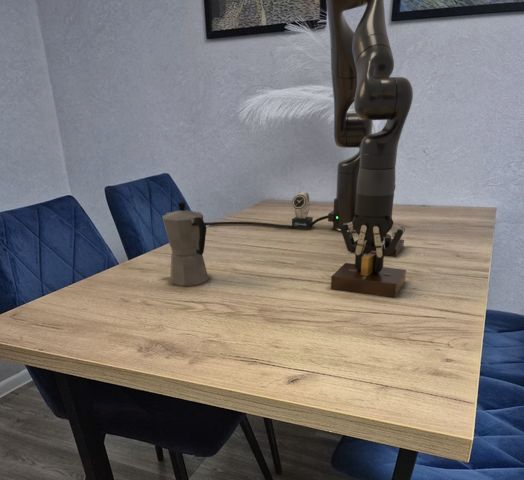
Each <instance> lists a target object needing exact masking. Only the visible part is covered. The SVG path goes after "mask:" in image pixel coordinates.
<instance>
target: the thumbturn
mask: <svg viewBox="0 0 524 480" xmlns="http://www.w3.org/2000/svg"><path fill="white" fill-rule="evenodd" d="M376 257H377V252H376V251H371V253H369V254H364V256H363V257H362V264H361V275H364V276H368V275H370V274H372V273H373V272H374V269H375V258H376Z"/></svg>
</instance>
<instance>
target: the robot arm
mask: <svg viewBox="0 0 524 480" xmlns="http://www.w3.org/2000/svg"><path fill="white" fill-rule="evenodd" d="M384 1H385V0H325V4H326V12H327V20H328V29H329V39H330V40H329V41H330V44H329V45H330V46H329V47H330V71H331V72H330V73H331V84H332V85H331V86H332V95H333V139H334V144H335V145H336V147H338V148H343V149H356V148H358V152H356V154H354V155H353V156H351V157H349V158H346V159H344V160H343V159H342V160H341V161H339V162H338V163H337V169H336V172H337V173H336V174H337V175H336V195H335V197H336V198H334V199H333V210H332V211H330V212H329V213H328V214H327V215H323V216H321V217H318V218H316V219H314V220H313V222H312V223H311V224H310V227H311V226H312V227H313V226H314V225H315V224H317V223H318V222H320V221H323V220H326V219H327V222H332V230H333V231H337V232H341V234H342V237H343V241H344V244H345V247H346V249H347V251H348V252H351V251H352V252H354V253H353V254H354V255H355V258H354V264H355V268H356V269H357V271H359V272H361V264H362V257H363V256H365V254H364V253H363V250H364V247H365V243H366V241H367V240H372V241H375V247H376V252H377V257H376V258H375V269H374V274H378V273H379V272H380V271H381V270H382V268H383V267H384V260H385V257H389V256H390V255H391V254H392V252H393V251H394V249H395V248H396V246H397V244H398V242H399V241H400V239H401V240H402V237H403V236H404V233H405V231H406V229H405V228H404V227H401V226H400V227H399V226H398V225H396V224H395V223H394V220H393V210H394V209H393V208H394V198H395V191H396V165H397V157H398V148H399V147H398V146H399V142H400V140H401V135H402V132H403V130H404V126H405V124H406V121H407V118H408V116H409V113H410V110H411V107H412V104H413V99H414V91H413V86H412V83H411V81H410V80H408V78H407V77H404V76H392V77H391V75H393V72H394V68H395V60H394V55H393V51H392V47H391V43H390V40H389V36H388V32H387V25H386V13H385V12H386V11H385V2H384ZM364 6H366V7H365V9H364V12H363V14H362V15H361V18H360V20H359V22H358V24H357V25H356V28H355V30H353V29H352V28H351V27H350V25H349V24H348V22H347V20H346V18H345V16H344V12H345V11H350V10H353V9H358V8H361V7H364ZM352 105H353V107H354V112H348V111H349V109H350V108H351V106H352ZM373 121H386V123H385V125H384V126H383V127H382V129H381V130H379V131H377V132H374V133H373V125H374V124H373ZM204 223H205V225H206V226H220V225H222V226H223V225H248V226H249V225H250V226H251V225H253V226H263V227H265V226H266V227H274V228H282V229H292V228H295V227H294V226H292V224H279V223H269V222H258V221H213V222H204ZM390 231H391V238H392V239H393V240H392V241H391V243H390V245H389V247H388V248H386V249H385V245H384V244H385V239H384V236H385V235H386V234H389V232H390ZM353 233H357V235H358V238H357V240H358V242H357V245H356V244H355V241H356V240H355V238H354V235H353Z"/></svg>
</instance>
